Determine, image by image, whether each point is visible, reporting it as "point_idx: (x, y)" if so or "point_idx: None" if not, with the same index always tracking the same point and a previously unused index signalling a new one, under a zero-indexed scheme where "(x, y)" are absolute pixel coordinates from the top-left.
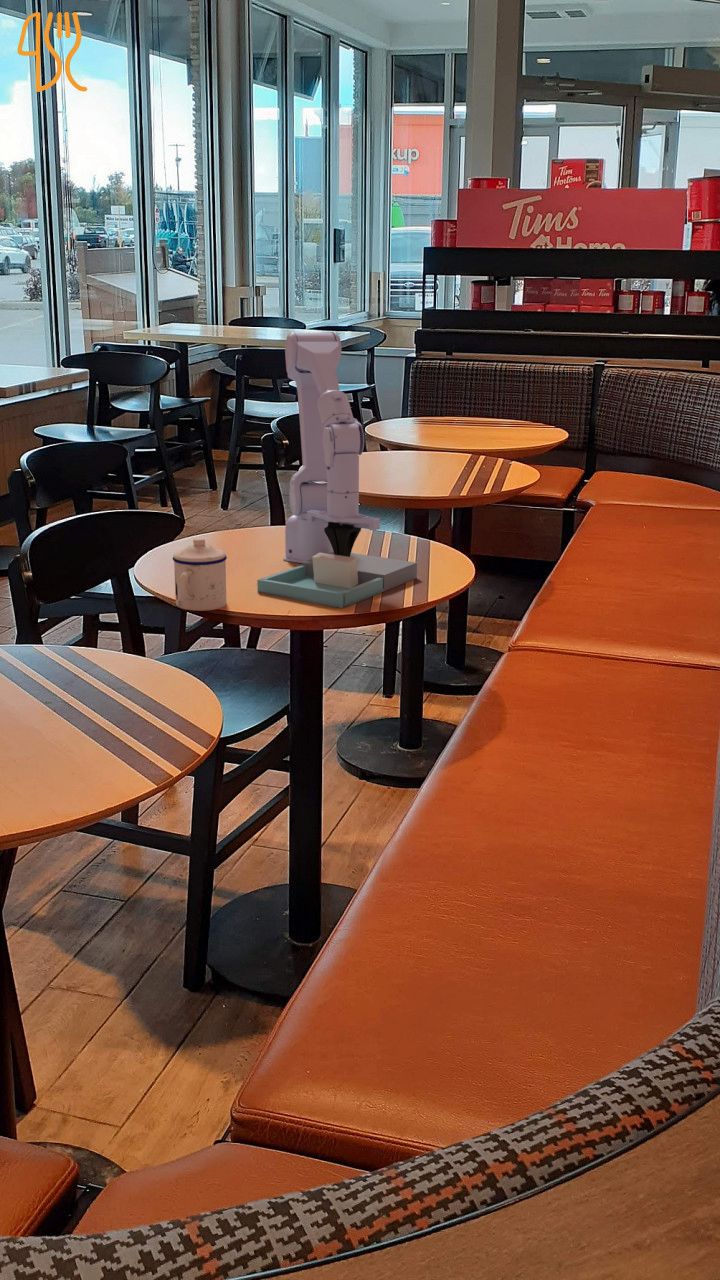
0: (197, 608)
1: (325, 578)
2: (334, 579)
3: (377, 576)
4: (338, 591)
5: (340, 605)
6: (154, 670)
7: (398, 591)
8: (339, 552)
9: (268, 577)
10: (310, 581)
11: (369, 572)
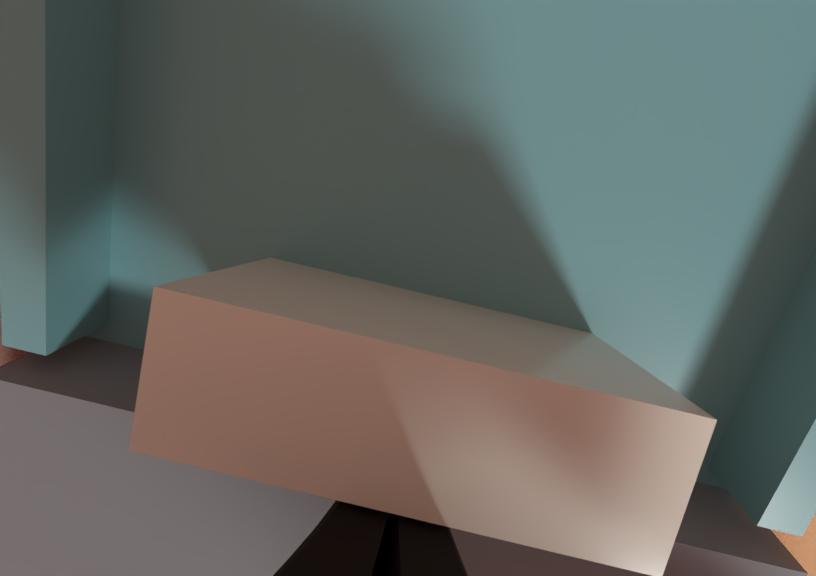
0: None
1: (496, 318)
2: (409, 299)
3: (64, 382)
4: (320, 134)
5: None
6: None
7: (11, 355)
8: (367, 538)
9: None
10: (630, 348)
11: (129, 418)
